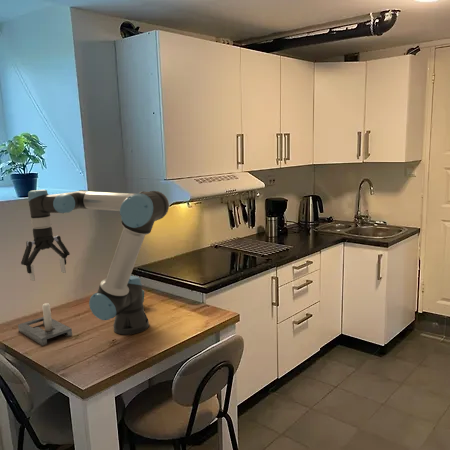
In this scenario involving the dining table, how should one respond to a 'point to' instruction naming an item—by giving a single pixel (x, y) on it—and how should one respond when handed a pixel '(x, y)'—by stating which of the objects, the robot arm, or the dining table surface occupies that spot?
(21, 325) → the keyhole plate
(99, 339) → the dining table surface
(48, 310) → the peg
